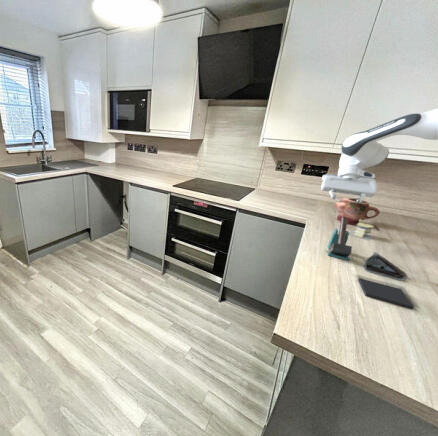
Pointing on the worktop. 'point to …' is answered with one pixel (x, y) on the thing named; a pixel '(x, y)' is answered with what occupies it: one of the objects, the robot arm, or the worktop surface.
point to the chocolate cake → (384, 267)
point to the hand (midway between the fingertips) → (345, 200)
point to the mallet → (341, 241)
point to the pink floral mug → (354, 210)
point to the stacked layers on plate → (362, 231)
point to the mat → (385, 293)
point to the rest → (335, 240)
